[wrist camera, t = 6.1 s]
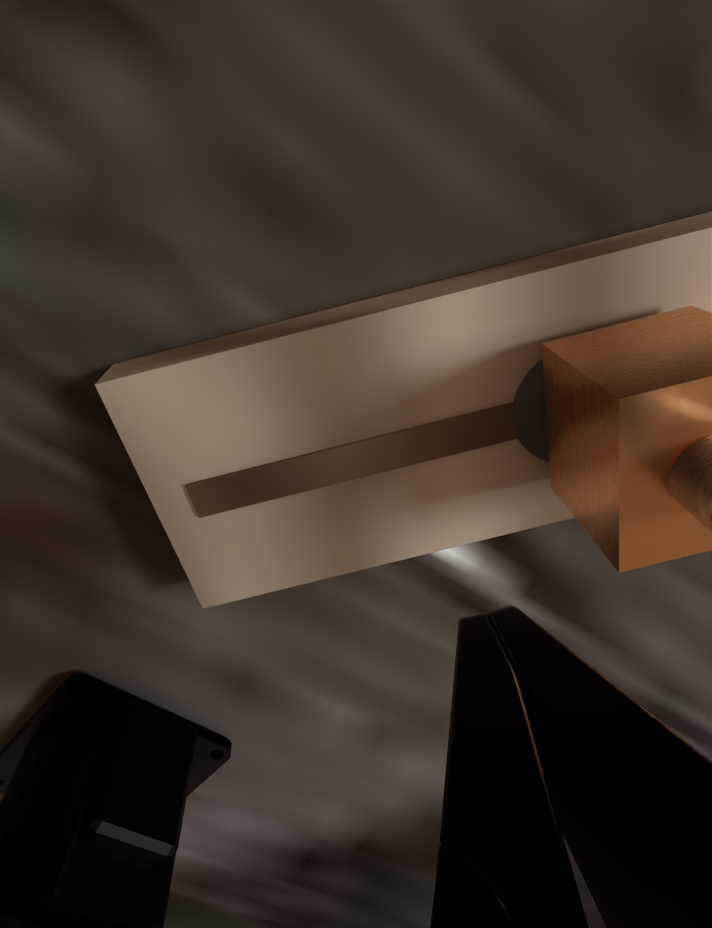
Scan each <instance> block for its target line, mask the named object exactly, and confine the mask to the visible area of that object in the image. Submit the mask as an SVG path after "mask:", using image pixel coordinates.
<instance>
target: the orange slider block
mask: <svg viewBox="0 0 712 928" xmlns="http://www.w3.org/2000/svg"><path fill="white" fill-rule="evenodd" d="M541 344H542V358H543V373H544V388H545V403H546V418H547V432H548V447H549V462H550V477H551V488H552V490H553V491H554V492H555V493H556V495H557V496H558V497H559V498H560V500H561V501H562V502H563V503H564V505H565V506H566V507H567V508H568V510H569V511H570V512H571V513H572V515H573V516H574V517H575V518H576V520H577V521H578V522H579V523H580V525H581V526H582V527H583V528H584V530H585V531H586V532H587V533H588V535H589V536H590V537H591V538H592V540H593V541H594V542H595V543H596V545H597V546H598V547H599V548H600V549H601V551H602V552H603V553H604V554H605V556H606V557H607V558H608V559H609V561H610V562H611V563H612V564H613V566H614V567H615V568H616V569H617V571H618V572H619V573H620V572H624V571H628V570H632V569H636V568H640V567H644V566H649V565H653V564H657V563H661V562H665V561H669V560H673V559H677V558H681V557H686V556H690V555H694V554H698V553H702V552H706V551H710V550H712V313H711V312H708V311H705V310H702V309H699V308H697V307H694V306H688V307H684V308H680V309H676V310H672V311H668V312H664V313H660V314H656V315H652V316H648V317H644V318H640V319H636V320H632V321H628V322H624V323H620V324H616V325H612V326H608V327H604V328H600V329H596V330H592V331H588V332H584V333H581V334H577V335H573V336H569V337H565V338H561V339H557V340H553V341H549V342H545V343H541Z"/></svg>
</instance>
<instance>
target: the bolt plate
mask: <svg viewBox="0 0 712 928" xmlns="http://www.w3.org/2000/svg"><path fill="white" fill-rule="evenodd" d="M688 306H694V307H697V308H699V309H702V310H705V311H708V312H711V313H712V211H711V212H707V213H703V214H699V215H695V216H691V217H687V218H684V219H680V220H676V221H672V222H668V223H664V224H660V225H656V226H652V227H648V228H644V229H640V230H637V231H633V232H629V233H625V234H621V235H617V236H613V237H609V238H605V239H601V240H597V241H593V242H589V243H586V244H582V245H578V246H574V247H570V248H566V249H562V250H558V251H554V252H550V253H546V254H542V255H539V256H535V257H531V258H527V259H523V260H519V261H515V262H511V263H507V264H503V265H499V266H495V267H492V268H488V269H484V270H480V271H476V272H472V273H468V274H464V275H460V276H456V277H452V278H448V279H444V280H441V281H437V282H433V283H429V284H425V285H421V286H417V287H413V288H409V289H405V290H401V291H397V292H394V293H390V294H386V295H382V296H378V297H374V298H370V299H366V300H362V301H358V302H354V303H350V304H347V305H343V306H339V307H335V308H331V309H327V310H323V311H319V312H315V313H311V314H307V315H303V316H300V317H296V318H292V319H288V320H284V321H280V322H276V323H272V324H268V325H264V326H260V327H256V328H252V329H249V330H245V331H241V332H237V333H233V334H229V335H225V336H221V337H217V338H213V339H209V340H205V341H202V342H198V343H194V344H190V345H186V346H182V347H178V348H174V349H170V350H166V351H162V352H158V353H155V354H151V355H147V356H143V357H139V358H135V359H131V360H127V361H123V362H119V363H115V364H113V365H112V366H111V367H110V368H109V369H108V370H107V371H106V373H105V374H104V375H103V376H102V377H101V378H100V379H99V380H98V381H97V383H96V384H95V386H96V388H97V390H98V392H99V395H100V397H101V399H102V401H103V403H104V405H105V407H106V409H107V411H108V413H109V415H110V417H111V419H112V421H113V424H114V426H115V428H116V430H117V432H118V434H119V436H120V438H121V440H122V442H123V444H124V446H125V448H126V450H127V453H128V455H129V457H130V459H131V461H132V463H133V465H134V467H135V469H136V471H137V473H138V475H139V477H140V479H141V482H142V484H143V486H144V488H145V490H146V492H147V494H148V496H149V498H150V500H151V502H152V504H153V506H154V508H155V511H156V513H157V515H158V517H159V519H160V521H161V523H162V525H163V527H164V529H165V531H166V533H167V535H168V537H169V540H170V542H171V544H172V546H173V548H174V550H175V552H176V554H177V556H178V558H179V560H180V562H181V564H182V566H183V569H184V571H185V573H186V575H187V577H188V579H189V581H190V583H191V585H192V587H193V589H194V591H195V593H196V595H197V598H198V600H199V602H200V604H201V606H202V608H203V609H204V608H208V607H212V606H216V605H221V604H225V603H229V602H233V601H237V600H241V599H245V598H249V597H253V596H257V595H261V594H265V593H269V592H273V591H277V590H282V589H286V588H290V587H294V586H298V585H302V584H306V583H310V582H314V581H318V580H322V579H326V578H330V577H334V576H339V575H343V574H347V573H351V572H355V571H359V570H363V569H367V568H371V567H375V566H379V565H383V564H387V563H391V562H395V561H400V560H404V559H408V558H412V557H416V556H420V555H424V554H428V553H432V552H436V551H440V550H444V549H448V548H452V547H456V546H461V545H465V544H469V543H473V542H477V541H481V540H485V539H489V538H493V537H497V536H501V535H505V534H509V533H513V532H518V531H522V530H526V529H530V528H534V527H538V526H542V525H546V524H550V523H554V522H558V521H562V520H566V519H570V518H574V516H573V515H572V513H571V512H570V511H569V510H568V508H567V507H566V506H565V505H564V503H563V502H562V501H561V500H560V498H559V497H558V496H557V495H556V493H555V492H554V491H553V490H552V488H551V477H550V462H549V447H548V432H547V418H546V403H545V388H544V373H543V358H542V344H541V343H545V342H549V341H553V340H557V339H561V338H565V337H569V336H573V335H577V334H581V333H584V332H588V331H592V330H596V329H600V328H604V327H608V326H612V325H616V324H620V323H624V322H628V321H632V320H636V319H640V318H644V317H648V316H652V315H656V314H660V313H664V312H668V311H672V310H676V309H680V308H684V307H688Z"/></svg>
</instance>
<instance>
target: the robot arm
mask: <svg viewBox="0 0 712 928" xmlns="http://www.w3.org/2000/svg"><path fill="white" fill-rule="evenodd" d="M80 689H81V690H80ZM231 745H232V743H231V741H230V740H229V739H227V738H226V737H224V736H221V735H219V734H217V733H215V732H213V731H210V730H208V729H206V728H204V727H201V726H199V725H197V724H195V723H193V722H190V721H188V720H186V719H184V718H182V717H179V716H177V715H175V714H173V713H171V712H168V711H166V710H164V709H162V708H159V707H157V706H155V705H153V704H151V703H148V702H146V701H144V700H142V699H140V698H137V697H135V696H133V695H131V694H129V693H126V692H124V691H122V690H120V689H117V688H115V687H113V686H111V685H109V684H106V683H104V682H102V681H100V680H98V679H95V678H93V677H91V676H89V675H85V674H74V675H71V676H69V677H68V678H67V679H66V680H65V681H64V682H63V683H62V684H61V685H60V686H59V687H58V689H57V690H56V691H55V692H54V693H53V694H52V695H51V696H50V697H49V699H48V700H47V701H46V702H45V703H44V704H43V705H42V706H41V707H40V709H39V710H38V711H37V712H36V713H35V714H34V715H33V716H32V717H31V719H30V720H29V721H28V722H27V723H26V724H25V725H24V726H23V727H22V729H21V730H20V731H19V732H18V733H17V734H16V735H15V736H14V737H13V738H12V740H11V741H10V742H9V743H8V744H7V745H6V746H5V747H4V748H3V750H2V751H1V752H0V793H1V794H4V796H3V798H2V800H1V802H0V928H163V926H164V920H165V914H166V908H167V903H168V897H169V891H170V885H171V879H172V873H173V867H174V861H175V855H176V852H177V849H178V845H179V839H180V833H181V827H182V821H183V815H184V809H185V803H186V797H187V796H188V795H189V794H190V793H191V792H192V791H194V790H195V789H196V788H197V787H198V786H199V785H200V784H201V783H203V782H204V781H205V780H206V779H207V778H208V777H209V776H210V775H212V774H213V773H214V772H215V771H216V770H217V769H218V768H219V767H221V766H222V765H223V764H224V763H225V762H226V761H227V760H228V759H229V758H230V755H231ZM561 831H562V832H561ZM562 833H563V835H562ZM563 836H564V838H565V840H566V842H567V844H568V846H569V848H570V850H571V853H572V855H573V857H574V859H575V861H576V863H577V865H578V867H579V870H580V872H581V874H582V876H583V878H584V880H585V882H586V884H587V887H588V889H589V891H590V893H591V895H592V897H593V899H594V902H595V904H596V906H597V908H598V910H599V912H600V914H601V916H602V919H603V921H604V923H605V925H606V927H607V928H712V761H710V760H709V759H708V758H707V757H705V756H704V755H703V754H702V753H700V752H699V751H698V750H697V749H695V748H694V747H693V746H691V745H690V744H689V743H688V742H686V741H685V740H684V739H683V738H681V737H680V736H679V735H678V734H676V733H675V732H674V731H672V730H671V729H670V728H669V727H667V726H666V725H665V724H664V723H662V722H661V721H660V720H658V719H657V718H656V717H655V716H653V715H652V714H651V713H650V712H648V711H647V710H646V709H645V708H643V707H642V706H641V705H639V704H638V703H637V702H636V701H634V700H633V699H632V698H631V697H629V696H628V695H627V694H626V693H624V692H623V691H622V690H620V689H619V688H618V687H617V686H615V685H614V684H613V683H612V682H610V681H609V680H608V679H607V678H605V677H604V676H603V675H601V674H600V673H599V672H598V671H596V670H595V669H594V668H593V667H591V666H590V665H589V664H587V663H586V662H585V661H584V660H582V659H581V658H580V657H579V656H577V655H576V654H575V653H574V652H572V651H571V650H570V649H568V648H567V647H566V646H565V645H563V644H562V643H561V642H560V641H558V640H557V639H556V638H555V637H553V636H552V635H551V634H549V633H548V632H547V631H546V630H544V629H543V628H542V627H541V626H539V625H538V624H537V623H536V622H534V621H533V620H532V619H530V618H529V617H528V616H527V615H525V614H524V613H523V612H522V611H520V610H519V609H518V608H516V607H514V606H507V607H503V608H498V609H494V610H491V611H489V612H488V614H487V615H486V614H485V613H478V614H474V615H469V616H465V617H462V618H461V619H460V620H459V624H458V636H457V647H456V659H455V671H454V682H453V694H452V705H451V717H450V728H449V740H448V752H447V763H446V775H445V786H444V798H443V809H442V821H441V832H440V843H441V845H440V846H439V850H438V862H437V874H436V884H435V892H434V901H433V909H432V918H431V926H430V928H588V924H587V921H586V917H585V914H584V910H583V906H582V903H581V899H580V896H579V892H578V889H577V885H576V882H575V878H574V874H573V871H572V867H571V864H570V860H569V857H568V853H567V850H566V846H565V842H564V839H563Z"/></svg>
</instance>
